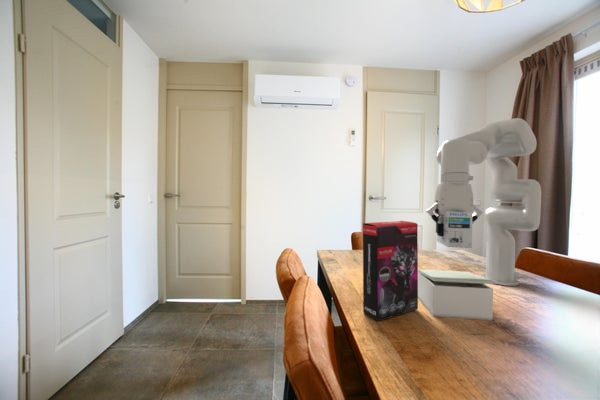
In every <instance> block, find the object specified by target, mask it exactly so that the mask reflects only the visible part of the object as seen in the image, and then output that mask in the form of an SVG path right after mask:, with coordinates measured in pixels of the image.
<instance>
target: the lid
mask: <svg viewBox="0 0 600 400" xmlns="http://www.w3.org/2000/svg"><path fill="white" fill-rule="evenodd" d="M418 272H419V273H421V274H423V275H425V276H426V277H428V278H430V279H431V280H433V281H445V282H463V283H481V284H485V285H494V283H493V281H492V280H488V279H486V278H483V277H481V275H477V274H475V273H472V272H470V271H461V270H460V271H459V270H440V269H439V270H436V269H419V268H418Z"/></svg>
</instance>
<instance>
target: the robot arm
mask: <svg viewBox="0 0 600 400" xmlns="http://www.w3.org/2000/svg"><path fill="white" fill-rule="evenodd" d="M537 145H538V143H537V138H536V136H535V134H534V132H533V130H532V128H531V127H530V125H529V123H528V122H527V121H526V120H524V119H523V118H520V117H516V118H509V119H505V120H499V121H494V122H493V121H492V122H490V123H486V124H485V125H483V126H481V127H480V128H479V129H477V130H475V131H474V132H471V133H468V134H465V135H463V136H460V137H457V138H453V139H447V140H444V141H443V142H442V144H441V146H440V147H439V148H438V150H437V153H436V162H437V163H438V164H439V165H440V183H437V184H436V185H437V186H436V190H435V194H434V195H435V196H434V203H433V205H431V206H430V207H429V208H427V209H426V211H425V212H426V213H427V214H428V216H429V218H431V219H432V220H433V222H434V223H435V233H436V236H437V235H438V236H444V224H442V221H443V220H444V214H445V211H464V212H472V213H473V214H472V225H473V224H474V222H475V221H476V220H478V218H480V216H481V215H482V214H483V211H482V210H481V209H480V208H479V207H477V206H476V205H475V204H474V193H473V187H472V184H471V183H469V182H470V181H474V176H473V175H470V166H474V165H479V164H481V163H483V162H484V161H487V163H488V165H489V167H490V171H491V173H490V191H489V193H490V194H489V195H490V198H491V200H492V201H493V202H496V203H505V204H506V203H507V204H523V205H524V206H520V205H519V206H516V205H493V206H490V207H488V208H486V209H485V211H484V216H483V217H484V223H485V228H486V229H485V230H486V242H485V243H486V244H485V245H486V250H485V273H482V274H481V275H480V277H483V278H486V279H488V280H492V281H493V285H494V284H496V285H501V286H506V287H507V286H508V287H517V286H520V281H519V279H525V280H528V278H529V275H528V274H527V273H519V272H516V271H515V270H516V268H515V267H516V264H515V263H516V240H515V237H514V236H513V234H512V233H511V232H510V231H509V230H511V231H513V230H514V231H523V232H524V231H525V232H534V231H536V230H538V229H539V227H540V223H541V214H542V213H541V212H542V211H541V210H542V208H541V207H542V187H541V184H540V182H539V181H537V180H535V179H529V178H528V179H527V178H523V179H518V167H517V165H516V164H515V163H514V162H513V161H512V160H510V157H513V158H514V157H523V156H529V155H531V154H533V153H534V152H535V151H536V149H537ZM437 214H438V215H437Z"/></svg>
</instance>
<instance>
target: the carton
mask: <svg viewBox="0 0 600 400" xmlns="http://www.w3.org/2000/svg"><path fill="white" fill-rule="evenodd" d="M418 301H420V302H421V304H422V305H423V306H424V307H425V308H426V310H427V312H429V314H431V316H432V317H437V318H438V317H439V318H449V319H450V318H452V319H465V320H466V319H467V320H479V321H493V319H494V318H493V312H494V311H493V309H494V308H493V307H494V289H493V288H492V287H490V286H488V284H481V283H463V282H445V281H433V280H431V279H430V278H428V277H426V276H425V275H423V274H421V273H419V272H418Z"/></svg>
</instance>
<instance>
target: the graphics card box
mask: <svg viewBox="0 0 600 400" xmlns="http://www.w3.org/2000/svg"><path fill="white" fill-rule="evenodd" d="M418 227H419V226H418V223H416V222H413V221H406V220H398V221H396V220H394V221H381V222H380V221H379V222H375V221H374V222H363V223H362V273H363V274H362V277H363V278H362V279H363V280H362V282H363V283H362V285H363V286H362V289H363V290H362V291H363V295H362V296H363V297H362V299H363V300H362V301H363V302H362V305H363V309H362V312H363V313H364V314H366V315H367V316H369V317H370V318H371V319H374V320H376V321H377V322H379V321H382V320H386V319H390V318H392V317H396V316H399V315H403V314H406V313H410V312H413V311H416V310H419V299H418V269H419V268H418V266H419V265H418V264H419V263H418V262H419V261H418V258H419V257H418V256H419V255H418V253H419V252H418V250H419V248H418V247H419V245H418V244H419V243H418V241H419V240H418V238H419V237H418V236H419V235H418V232H419V231H418Z"/></svg>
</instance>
